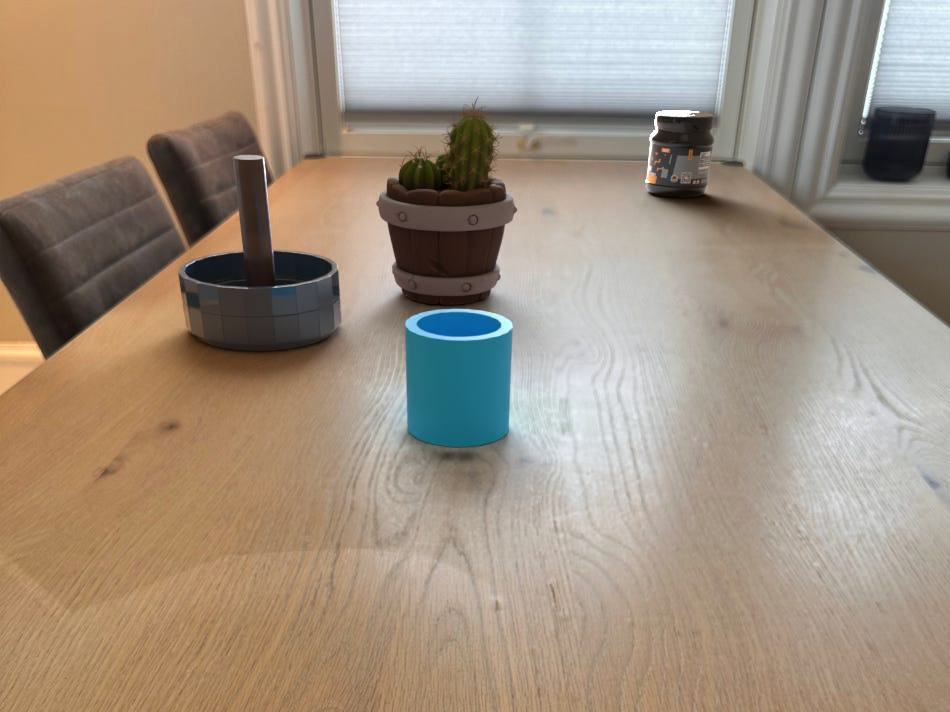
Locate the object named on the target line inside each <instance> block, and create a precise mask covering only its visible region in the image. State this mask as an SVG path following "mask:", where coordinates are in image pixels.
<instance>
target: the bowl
mask: <svg viewBox="0 0 950 712" xmlns="http://www.w3.org/2000/svg"><path fill="white" fill-rule="evenodd" d="M273 258H274V269H275V279H276V286H270V287H247V281H246V272H245V263H244V254H243V250H234V251H225V252H220V253H219V252H218V253H214V254H213V253H212V254H207V255H204V256H200V257H197V258H193V259H191V260H189V261H187V262H185V263H183V264H182V265H180V267H179V269H178V271H177V275H178V282H179V289H180V294H181V301H182V302H181V303H182V308H183V309H182V310H183V315H184V323H185V327H186V328H187V330H188V331H189V332H190V333H191V334H192V335H193V336H196V337H197V339H198V340H199V341H201V342H203V343H205V344H206V345H210V346H213V347H217V348H222V349H226V350H233V351H242V352H243V351H245V352H270V351H271V352H272V351H282V350H292V349H296V348H302V347H306V346H310V345H313V344H316V343H319V342H322V341H323V340H326V339H327V338H329V337H330V336H332V335H333V333H334V332H335V330H337V328H339V326H340V325H341V324H342V310H341V309H342V308H341V307H342V305H341V291H340V290H341V289H340V275H339V273H340V272H339V265H338V263H337V262H336V261H334V260H333V259H331V258H330V257H326V256H323V255H319V254H316V253H311V252H304V251H298V250H287V249H285V250H284V249H273Z"/></svg>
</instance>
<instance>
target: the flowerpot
mask: <svg viewBox="0 0 950 712" xmlns="http://www.w3.org/2000/svg"><path fill="white" fill-rule="evenodd" d="M478 99H479V95H478V96H477V98H476V99H475V100H474V103H471V105H472V108H471V107H470V106H469V105H468V104H467V103H466V104H465V103H463V108H462V110H460V109H458V111H460V113H458V115H459V116H460V117H459V120H458V119H456V117H455V116H454V115H452V116H453V117H452V118H453V119H452V121H449V120H447V121H446V122H448V123H450V124H449V125H448V126H447V127H446V129H445V131H446V133H443V134H442V133H441V136H443V135H444V138H443V139H442V140H439V141H440V142H442V144H444V145H443V147H444V148H443V150H444V151H445V152H440V155H437V156H434V159H435V162H433V161H432V160H431V156H432V153H430V154H428V155H425V154H424V153H427V149H426V148H425V147H426V145H424V146H423V144H421V146H420V147H419V148H418V147H417V146H415V145H413V147H415V148H416V150H417V151H415V154H413V153H412V151H409V150H407V152H408V153H410V154H407V155H405V156H404V158H403V159H402V162H401V164H399V165H398V167H400V168H399V171H398V172H399V173H398V177H397V176H391V177H388V178H387V180H386V189H385V190H383V191H381V192H380V194H379V196H378V200H376V203H375V205H376V206H377V207H378V214H379V216H380V218H381V219H382V220H383V221H384V222H386V224H387V229H388V235H389V238H390V244H391V247H392V251H393V255H394V260H395V261H394V263H392V265H391V270H392V271H391V273H392V275H393V278H394V281H395V283H396V285H397V286H398V287H399V288H401V293H402V294H403V295H404V296H406V297H407V298H408V299H410V300H412V301H415V302H417V301H418V302H419V303H422V304H428V305H429V304H430V305H436V304H439V303H440V305H443V306H450V305H452V306H455V305H464V304H470V303H475V302H477V301H483V300H486V299H487V298H488V297H489V296H490V295H491V292H492V289H494V288H495V287H496V286H497V283H498V281H500V280H501V277H502V276H501V274H500V272H501V267H500V265H499V263H497V261H498V258H499V254H500V250H501V246H502V242H503V239H504V233H505V228H506V225H507V224H509V223H511V222H512V221H513V219H514V216H515V214H516V213H517V212H518V208H517V207H516V204H515V199H514V197H513V196H512V194H510V193H508V192H507V189H506V184H505V181H503V180H502V179H499V178H496V177H493V173H495V174H497V172H496V171H498V169H494V168H495V167H497V162H499V159H501V158H502V157H498V153H500V151H499V150H500V148H498V149H497V148H496V147H499V146H500V145H501V143H500V142H499V139H502V138H503V136H501V137H499V135H500V132H498V133H496V132H494V131H495V130H499V128H498V125H495V123H493V122H492V121H490V120H487V119H488V118H491V115H488V113H489V112H490V111H491V109H490V110H488V111H487V112H486V113H483V109H484V108H486V107H487V106H486V105H485V106H481V107H479V108H477V109H476V104H477V101H478ZM467 109H468V110H467ZM455 119H456V120H455ZM486 120H487V121H486ZM490 123H491V124H490ZM450 127H451V128H450ZM449 128H450V129H451V130H449ZM445 135H447V136H445ZM444 140H445V141H446V142H445V141H444ZM496 145H497V146H496ZM423 148H424V150H425V152H423V150H422V149H423ZM437 153H439V150H438V151H437V150H436V151H435V154H437ZM421 154H422V155H421ZM421 156H422V157H421ZM407 157H408V158H407ZM496 157H497V158H496ZM405 159H406V160H407V159H409V160H407V162H405V163H404V161H405ZM496 161H497V162H496ZM494 164H495V165H494Z"/></svg>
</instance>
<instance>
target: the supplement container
mask: <svg viewBox="0 0 950 712" xmlns="http://www.w3.org/2000/svg"><path fill="white" fill-rule="evenodd" d="M714 123H715V115H714V114H712V113H709V112H702V111H692V110H662V111H658V112H656V114H655V119H654V126H655V130H653V132H652V133H651V134H650V137H649V142H650V145H649V152H648V161H647V163H648V164H647V170H646V171H647V172H646V179H645V189H646V190H647V192H649V193H650V194H652V195H655V196H659V197H666V198H678V199H679V198H682V199H683V198H684V199H685V198H696V197H697V198H698V197H700V196H702V195H703V194H705V193H706V192H707V190H708V185H709V176H710V168H711V163H712V155H713V146H714V144H715V137H714V134H713V133H712V132H711V131H712V130H713V128H714Z"/></svg>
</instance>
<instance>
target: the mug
mask: <svg viewBox="0 0 950 712" xmlns="http://www.w3.org/2000/svg"><path fill="white" fill-rule="evenodd" d="M513 328H514V327H513V322H512V321H511V320H510V319H508V317H506V316H503V315H501V314H498V313H496V312H495V313H494V312H491V311H486V310H480V309H472V308H471V309H470V308H443V309H434V310H429V311H423V312H419V313H416V314H414V315H412V316H410V317H409V318H407V319H406V320H405V324H404V335H405V339H404V340H405V379H406V380H405V383H406V385H405V386H406V417H407V418H406V425H407V427H406V428H407V430H408V432H409V433H410V435H411V436H413V437H414V438H416V439H417V440H420V441H422V442H426V443H428V444H432V445H437V446H442V447H443V446H444V447H451V448H452V447H454V448H455V447H457V448H458V447H459V448H467V447H477V446H483V445H487V444H490V443H491V444H492V443H494V442H496V441H499V440H500V439H503V438H504V437H505V436H506V435H507V434H508V432H509V429H510V407H511V406H510V404H511V377H512V356H513V355H512V353H513V352H512V351H513V331H514V330H513Z"/></svg>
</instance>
